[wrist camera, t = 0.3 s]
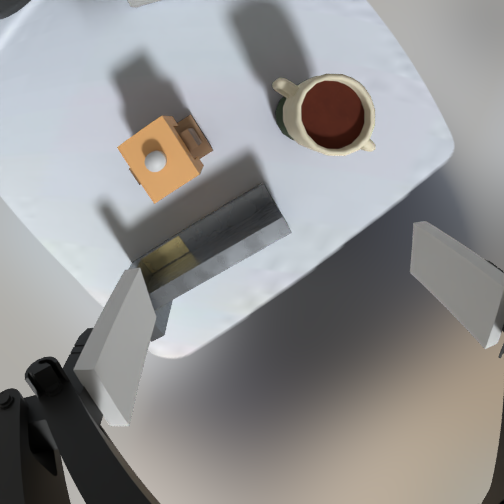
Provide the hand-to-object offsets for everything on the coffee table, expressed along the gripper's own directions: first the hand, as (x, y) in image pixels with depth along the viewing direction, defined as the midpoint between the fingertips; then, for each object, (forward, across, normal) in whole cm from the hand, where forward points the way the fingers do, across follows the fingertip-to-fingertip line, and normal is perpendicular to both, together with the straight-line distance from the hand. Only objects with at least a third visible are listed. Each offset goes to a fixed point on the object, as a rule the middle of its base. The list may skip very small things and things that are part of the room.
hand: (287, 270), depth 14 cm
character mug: (+26, +7, +6) cm, 27 cm away
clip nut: (+22, -8, +4) cm, 24 cm away
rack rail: (+25, -6, -8) cm, 27 cm away
